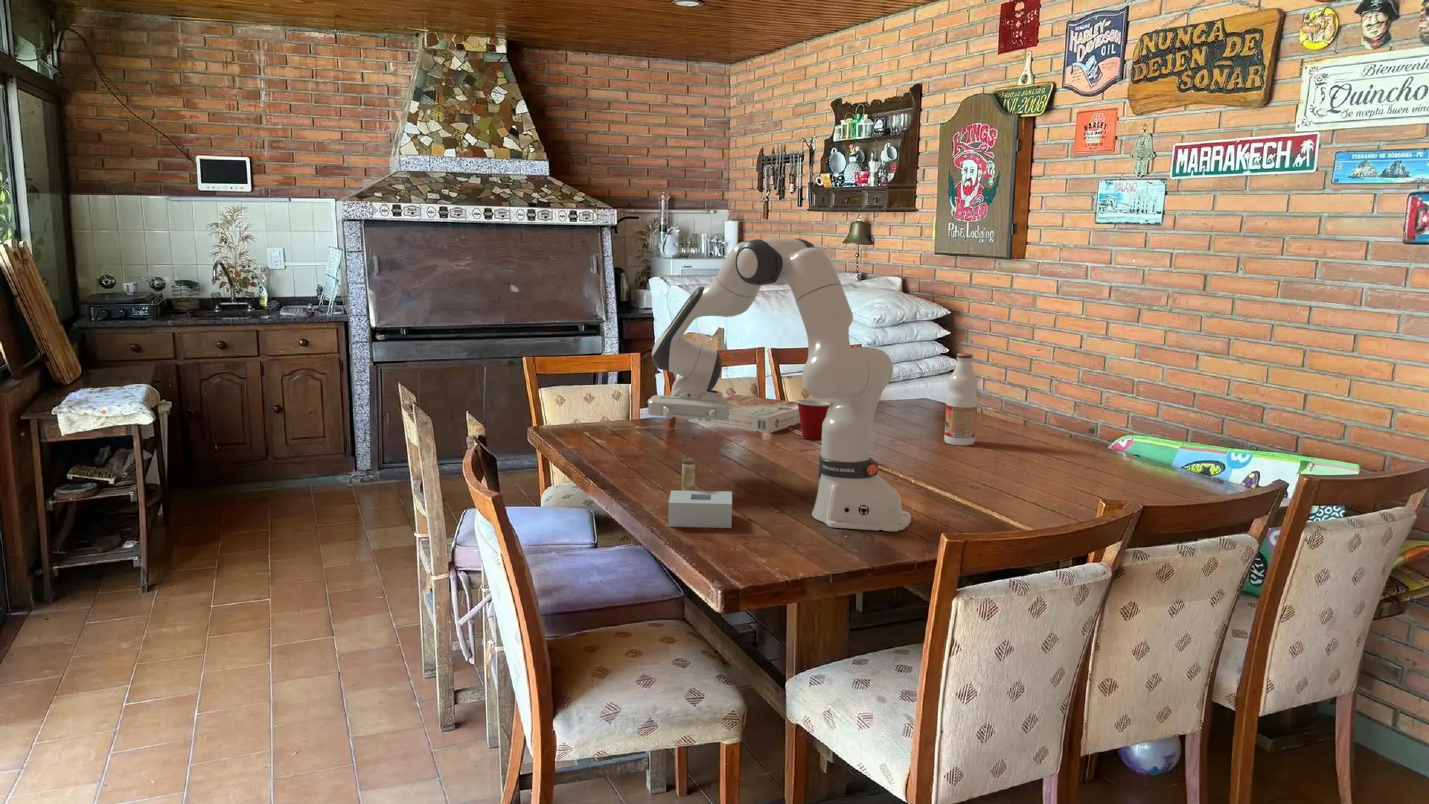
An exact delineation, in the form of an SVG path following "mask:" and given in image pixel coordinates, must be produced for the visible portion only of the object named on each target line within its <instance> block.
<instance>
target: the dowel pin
mask: <svg viewBox="0 0 1429 804" xmlns="http://www.w3.org/2000/svg"><path fill="white" fill-rule="evenodd" d="M695 477H696V458H693V457H685V458H681V491H696V490H695V489H696V486H695V485H696V484H695V482H696V480H695V479H696V478H695Z"/></svg>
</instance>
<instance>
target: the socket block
mask: <svg viewBox="0 0 1429 804" xmlns="http://www.w3.org/2000/svg"><path fill="white" fill-rule="evenodd" d="M667 508H668V514H667V515H668V516H667V520H668V522H667V525H668V526H667V527H668V528H669V527H671V528H672V527H673V528H717V529H718V528H719V529H720V528H722V529H724V528H725V529H727V528H728V529H732V528H733V527H732V523H733V520H732V519H733V518H732V516H733V491H723V490H721V491H720V490H719V491H715V490H713V491H712V490H710V491H709V490H695V491H682V490H671V491H670V494H669V499H668V507H667Z"/></svg>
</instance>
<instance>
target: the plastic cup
mask: <svg viewBox="0 0 1429 804" xmlns="http://www.w3.org/2000/svg"><path fill="white" fill-rule="evenodd" d="M795 402H797V403H798V409H799V415H800V423H799V424H800V428H801V436H802V439H804V440H807V441H808V440H809V441H818V440H820V439H821V440H822V424H823V421H824V419H825V418H826V416H827V414H828V410H829V408H830V406H831V403H830V402H828V401H825V400H824V401H822V400H818V399H817V400H815V399H797V400H796V401H795Z"/></svg>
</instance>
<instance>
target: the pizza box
mask: <svg viewBox="0 0 1429 804" xmlns="http://www.w3.org/2000/svg"><path fill="white" fill-rule="evenodd" d="M724 398H725V399H726V400H727V402H728V404H729V417H728V419H727V420H714V419H712V420H711V421H705V419H699V418H695V419H690V420H687V422H689V423H696V424H702V425H711V426H717V427H724V428H730V429H735V428H739V429H738V430H742V429H744V431H749V432H750V431H751V432H756V431H759V432H758V433H762V434H763V433H765V434H772V433H774V431H775V432H778V431H781V430H783V429H786V428H789V427H788V426H790V425H793V426H796V425H798V424H800V415H799V409H798V403H797V401H789V400H784V399H783V400H782V399H774V398H766V397H760V396H759V397H758V396H751V395H742V394H741V395H740V394H734V395H732V396H727V397H724ZM797 423H798V424H797ZM790 427H791V426H790Z"/></svg>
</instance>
